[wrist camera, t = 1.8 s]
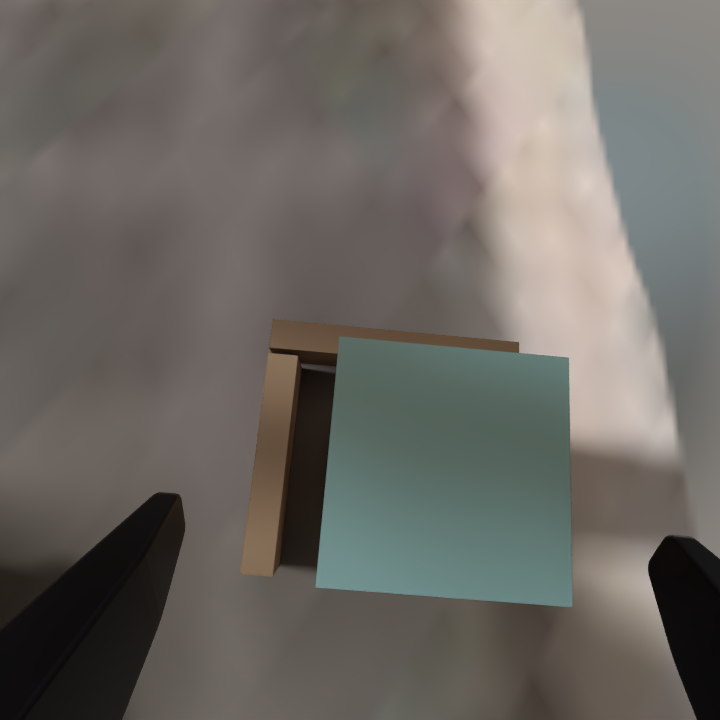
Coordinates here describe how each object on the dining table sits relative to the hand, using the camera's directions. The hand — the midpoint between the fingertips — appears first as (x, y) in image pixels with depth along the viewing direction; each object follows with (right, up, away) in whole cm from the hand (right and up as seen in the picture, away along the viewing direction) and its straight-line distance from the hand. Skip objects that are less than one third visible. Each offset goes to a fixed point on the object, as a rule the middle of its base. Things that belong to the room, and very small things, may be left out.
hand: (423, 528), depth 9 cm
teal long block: (0, -1, +9) cm, 9 cm away
